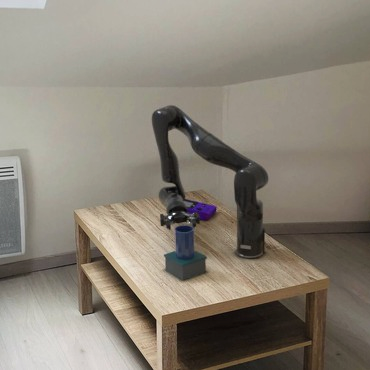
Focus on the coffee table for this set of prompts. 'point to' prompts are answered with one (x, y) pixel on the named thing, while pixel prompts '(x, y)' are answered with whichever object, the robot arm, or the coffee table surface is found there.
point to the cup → (184, 242)
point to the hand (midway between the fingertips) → (181, 226)
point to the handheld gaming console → (200, 209)
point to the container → (185, 265)
